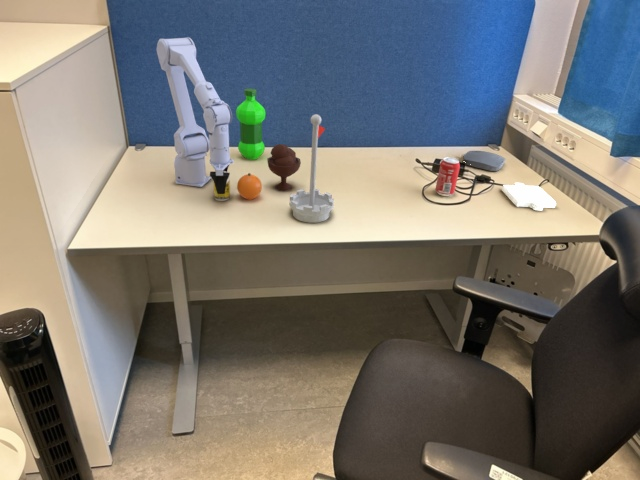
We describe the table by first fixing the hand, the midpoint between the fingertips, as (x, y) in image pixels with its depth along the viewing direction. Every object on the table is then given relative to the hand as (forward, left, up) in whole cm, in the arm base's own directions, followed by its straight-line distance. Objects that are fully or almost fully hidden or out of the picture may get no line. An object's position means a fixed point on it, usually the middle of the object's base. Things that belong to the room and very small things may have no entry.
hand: (221, 188), depth 145 cm
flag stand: (+29, -2, -4) cm, 29 cm away
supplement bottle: (0, 0, -4) cm, 4 cm away
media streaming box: (+85, +62, -4) cm, 105 cm away
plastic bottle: (-3, +37, -4) cm, 37 cm away
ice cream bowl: (+16, +14, -4) cm, 22 cm away
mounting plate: (+97, +32, -4) cm, 102 cm away
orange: (+8, +3, -3) cm, 9 cm away
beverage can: (+69, +27, -4) cm, 74 cm away
